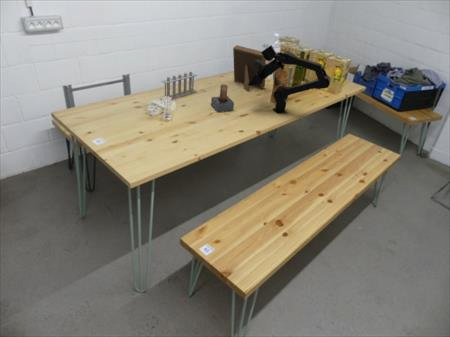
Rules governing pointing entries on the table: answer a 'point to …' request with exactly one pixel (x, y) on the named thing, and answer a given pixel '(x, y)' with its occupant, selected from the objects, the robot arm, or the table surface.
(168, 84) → the test tube rack
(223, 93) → the walnut pin
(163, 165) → the table surface
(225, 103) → the bore block
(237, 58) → the photo frame
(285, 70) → the pancake mix bag
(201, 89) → the table surface
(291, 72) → the skincare box
